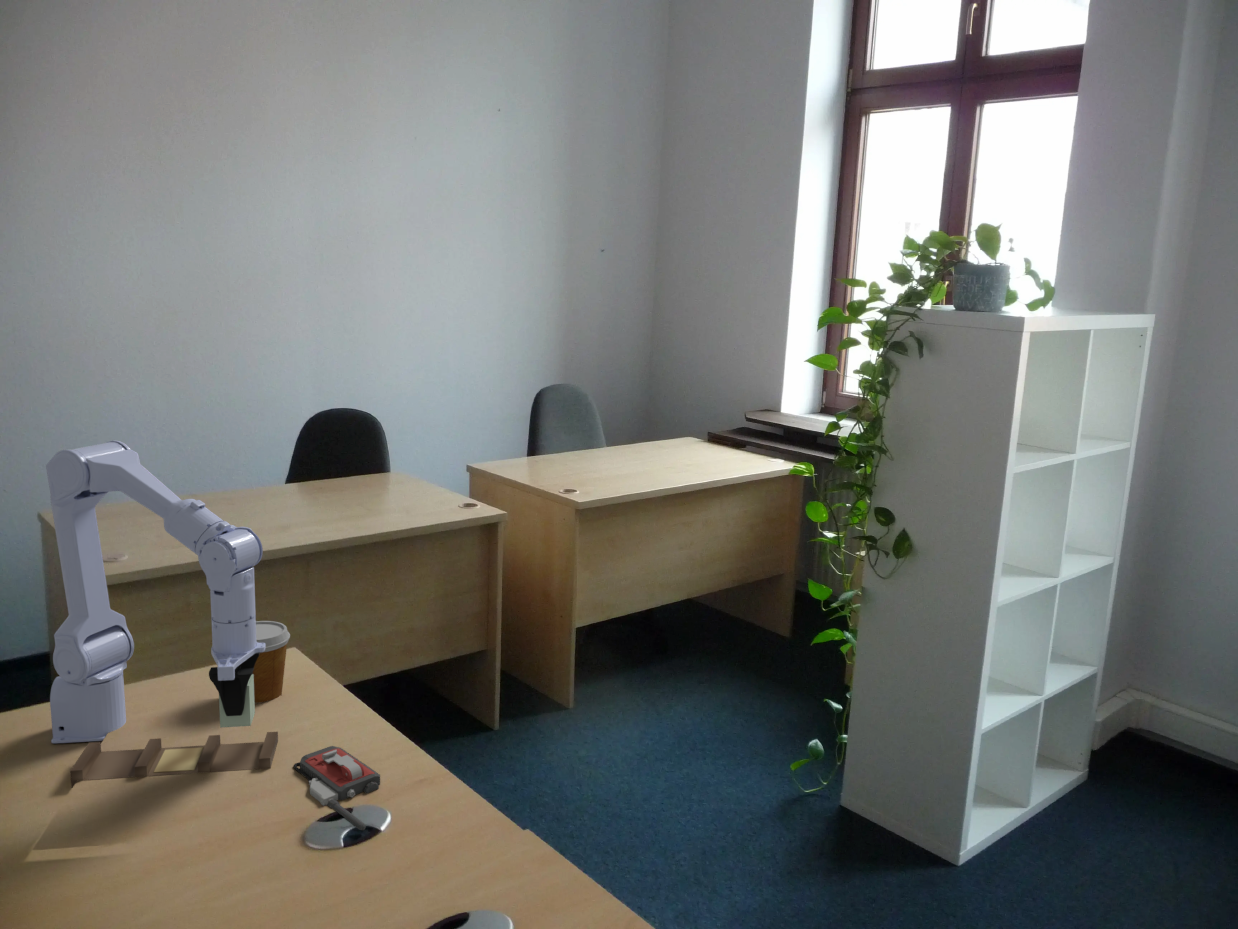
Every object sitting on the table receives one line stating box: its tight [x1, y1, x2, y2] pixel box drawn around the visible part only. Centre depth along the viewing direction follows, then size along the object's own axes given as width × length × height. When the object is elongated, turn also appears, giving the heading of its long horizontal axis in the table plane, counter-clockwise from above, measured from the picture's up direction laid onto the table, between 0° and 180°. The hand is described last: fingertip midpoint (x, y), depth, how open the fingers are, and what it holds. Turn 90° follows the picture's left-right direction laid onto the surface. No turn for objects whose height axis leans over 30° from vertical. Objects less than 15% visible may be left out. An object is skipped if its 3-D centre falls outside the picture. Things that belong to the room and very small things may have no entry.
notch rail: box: [69, 731, 279, 789], centre depth 137 cm, size 26×8×2 cm, turn 102°
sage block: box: [218, 674, 256, 729], centre depth 137 cm, size 4×4×6 cm
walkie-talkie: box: [293, 745, 381, 831], centre depth 131 cm, size 9×4×20 cm
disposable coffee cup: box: [253, 620, 291, 704], centre depth 158 cm, size 10×10×12 cm
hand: (237, 707), depth 137 cm, fingers closed on sage block, 4 cm apart
